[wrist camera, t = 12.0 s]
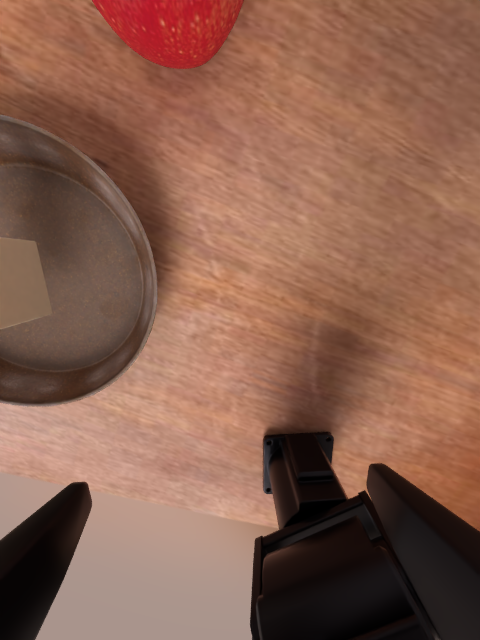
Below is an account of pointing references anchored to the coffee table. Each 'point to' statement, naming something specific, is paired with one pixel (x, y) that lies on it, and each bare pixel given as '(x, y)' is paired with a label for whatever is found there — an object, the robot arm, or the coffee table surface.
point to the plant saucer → (72, 271)
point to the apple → (172, 28)
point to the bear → (21, 283)
